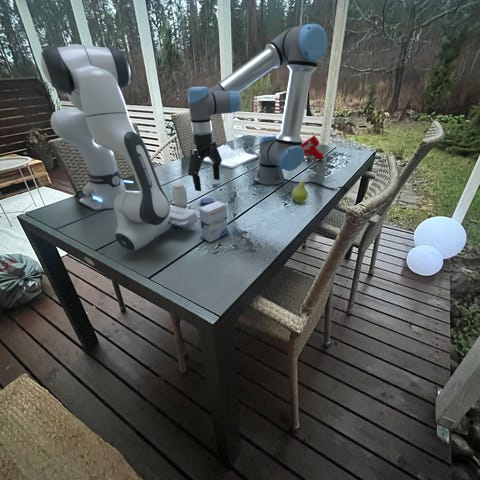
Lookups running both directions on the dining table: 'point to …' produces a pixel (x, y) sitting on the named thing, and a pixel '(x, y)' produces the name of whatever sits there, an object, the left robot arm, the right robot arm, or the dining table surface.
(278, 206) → the dining table surface
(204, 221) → the ink box
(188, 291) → the dining table surface
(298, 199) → the fruit
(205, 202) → the lid
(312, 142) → the toy gun
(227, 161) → the relief map
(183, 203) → the jar
